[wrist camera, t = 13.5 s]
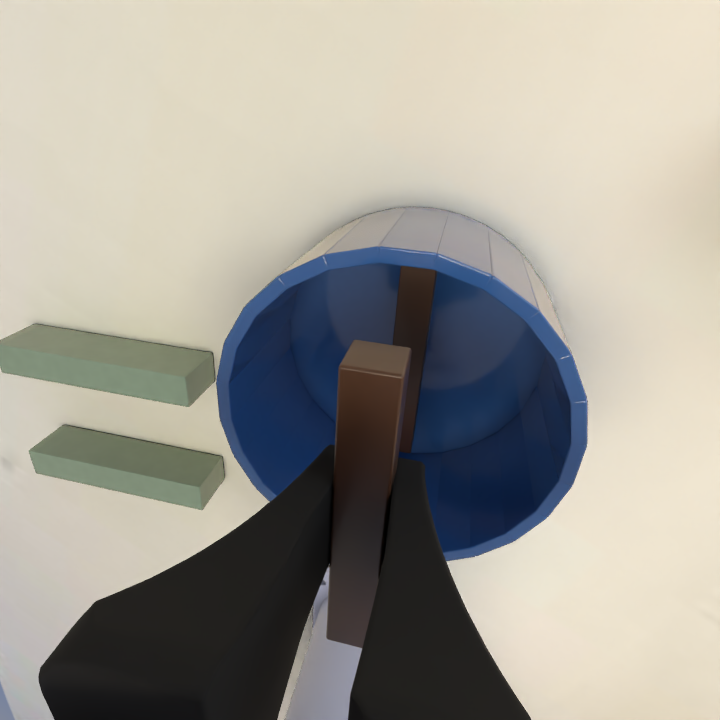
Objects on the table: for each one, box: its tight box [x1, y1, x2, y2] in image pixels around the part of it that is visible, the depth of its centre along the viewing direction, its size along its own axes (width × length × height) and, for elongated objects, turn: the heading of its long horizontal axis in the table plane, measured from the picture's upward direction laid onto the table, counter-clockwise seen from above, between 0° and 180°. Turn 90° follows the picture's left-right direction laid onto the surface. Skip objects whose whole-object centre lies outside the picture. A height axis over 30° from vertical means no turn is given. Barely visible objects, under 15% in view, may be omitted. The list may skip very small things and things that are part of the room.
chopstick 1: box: [326, 340, 412, 648], centre depth 12 cm, size 9×1×1 cm, turn 176°
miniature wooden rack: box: [0, 324, 224, 510], centre depth 25 cm, size 8×10×2 cm
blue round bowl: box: [216, 207, 588, 561], centre depth 18 cm, size 12×12×6 cm
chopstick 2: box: [392, 266, 437, 453], centre depth 19 cm, size 9×1×1 cm, turn 176°
